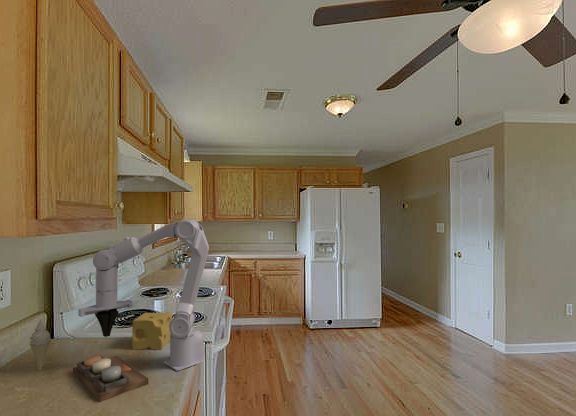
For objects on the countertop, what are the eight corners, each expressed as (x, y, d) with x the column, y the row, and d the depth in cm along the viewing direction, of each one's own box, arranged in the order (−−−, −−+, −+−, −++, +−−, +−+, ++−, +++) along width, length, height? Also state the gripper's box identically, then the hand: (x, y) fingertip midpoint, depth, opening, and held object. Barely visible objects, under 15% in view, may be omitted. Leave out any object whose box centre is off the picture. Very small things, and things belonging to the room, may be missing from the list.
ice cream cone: (47, 365, 107) (47, 315, 107) (53, 369, 103) (53, 318, 104) (27, 370, 103) (27, 319, 103) (32, 375, 100) (33, 322, 100)
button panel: (116, 360, 110) (116, 350, 110) (148, 384, 95) (148, 372, 95) (72, 373, 101) (72, 362, 101) (100, 401, 86) (100, 389, 86)
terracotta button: (98, 361, 105) (98, 354, 105) (103, 365, 102) (103, 358, 102) (81, 366, 101) (81, 359, 101) (86, 370, 98) (87, 363, 98)
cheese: (162, 350, 118) (162, 320, 118) (130, 350, 118) (130, 320, 119) (172, 339, 129) (173, 311, 129) (143, 339, 129) (143, 311, 129)
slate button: (116, 371, 95) (116, 364, 95) (123, 377, 92) (123, 369, 92) (99, 377, 92) (99, 369, 92) (105, 383, 89) (105, 375, 89)
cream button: (107, 364, 100) (107, 357, 100) (113, 369, 97) (113, 361, 97) (90, 369, 97) (90, 361, 97) (95, 374, 94) (95, 366, 94)
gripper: (126, 284, 113) (125, 326, 113) (75, 291, 103) (74, 338, 103) (135, 287, 108) (135, 332, 108) (83, 295, 98) (82, 344, 98)
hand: (106, 335), depth 105 cm, fingers closed
